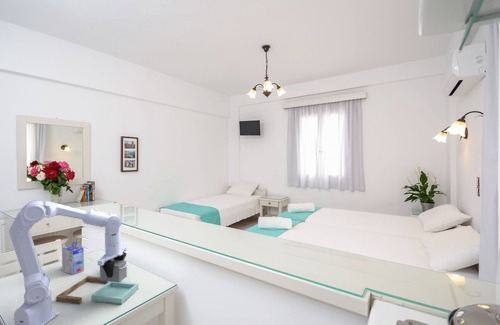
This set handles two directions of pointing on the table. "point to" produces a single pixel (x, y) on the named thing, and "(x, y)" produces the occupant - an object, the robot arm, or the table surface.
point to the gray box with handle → (115, 272)
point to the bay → (72, 299)
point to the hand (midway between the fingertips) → (114, 273)
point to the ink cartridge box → (73, 259)
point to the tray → (115, 292)
